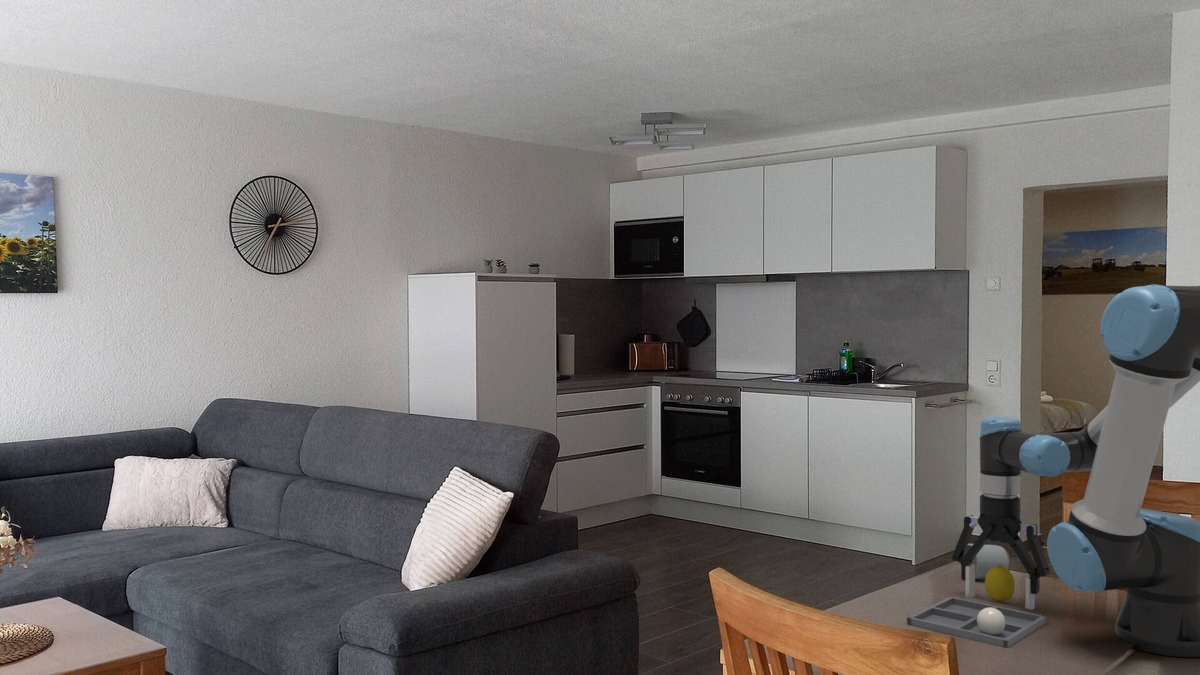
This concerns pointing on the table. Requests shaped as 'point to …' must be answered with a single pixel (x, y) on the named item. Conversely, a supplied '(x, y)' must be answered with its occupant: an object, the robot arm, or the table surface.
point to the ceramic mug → (988, 559)
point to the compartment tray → (975, 621)
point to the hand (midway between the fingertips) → (999, 603)
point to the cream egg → (991, 621)
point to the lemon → (999, 584)
